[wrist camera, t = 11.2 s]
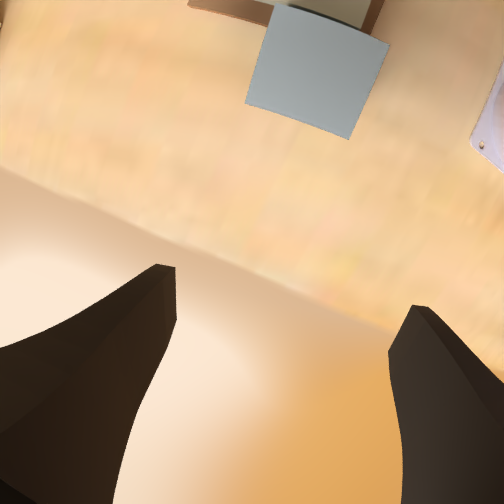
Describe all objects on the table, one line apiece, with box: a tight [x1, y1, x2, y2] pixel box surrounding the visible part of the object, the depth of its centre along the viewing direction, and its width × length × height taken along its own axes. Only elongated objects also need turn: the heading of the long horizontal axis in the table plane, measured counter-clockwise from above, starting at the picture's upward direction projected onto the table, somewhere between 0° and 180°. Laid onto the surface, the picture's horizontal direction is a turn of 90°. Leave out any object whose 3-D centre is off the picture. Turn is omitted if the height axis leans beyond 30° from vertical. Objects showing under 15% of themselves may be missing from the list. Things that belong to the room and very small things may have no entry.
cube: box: [245, 3, 390, 140], centre depth 12 cm, size 4×4×4 cm
